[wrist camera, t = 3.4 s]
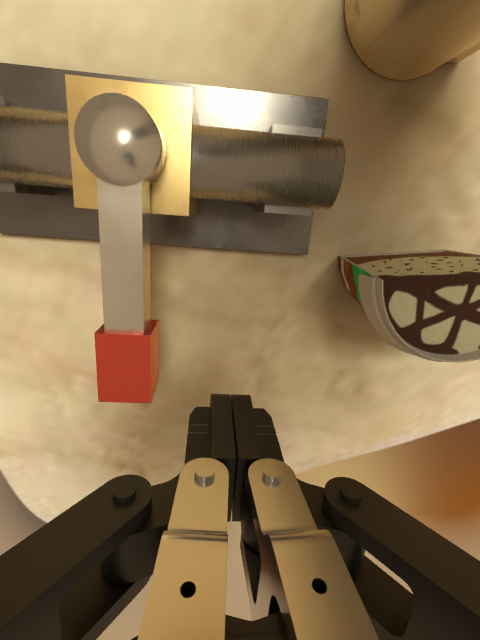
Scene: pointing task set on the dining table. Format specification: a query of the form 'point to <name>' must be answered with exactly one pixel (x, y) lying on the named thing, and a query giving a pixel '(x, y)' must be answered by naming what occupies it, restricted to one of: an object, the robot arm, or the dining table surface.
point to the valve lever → (123, 240)
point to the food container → (420, 300)
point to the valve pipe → (170, 161)
